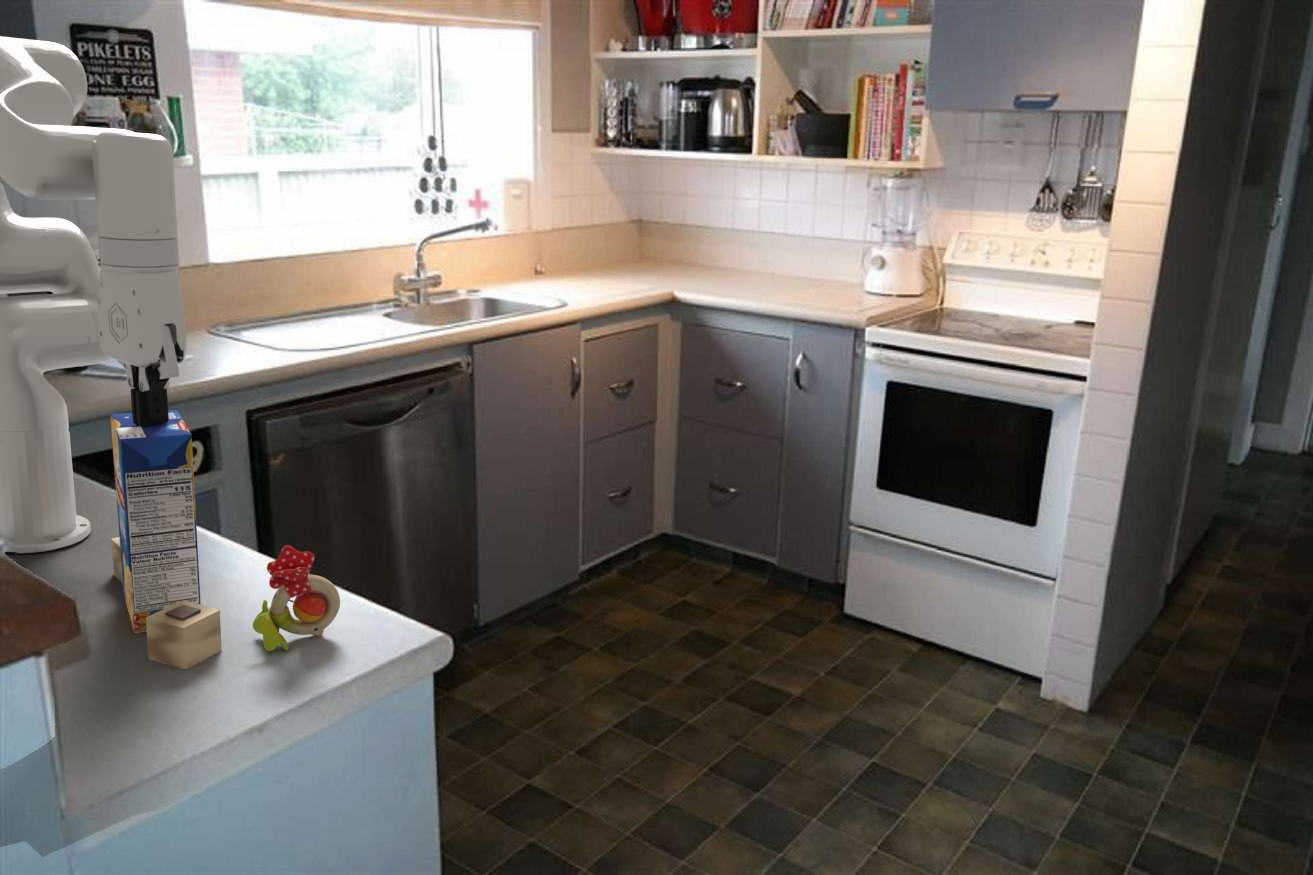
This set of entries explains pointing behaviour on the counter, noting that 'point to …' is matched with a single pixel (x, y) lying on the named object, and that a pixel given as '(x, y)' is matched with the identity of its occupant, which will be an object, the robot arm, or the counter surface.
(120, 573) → the marked oak block far
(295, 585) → the bird rattle
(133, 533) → the beverage box
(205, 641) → the marked oak block near
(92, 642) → the counter surface
